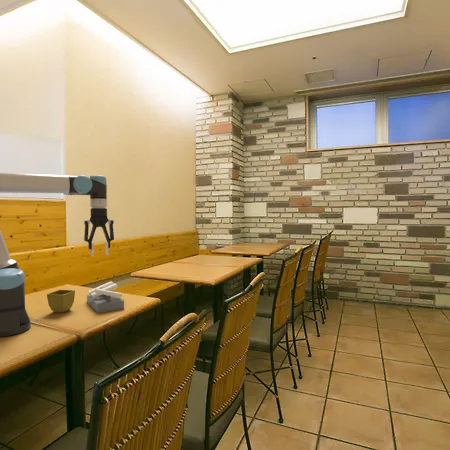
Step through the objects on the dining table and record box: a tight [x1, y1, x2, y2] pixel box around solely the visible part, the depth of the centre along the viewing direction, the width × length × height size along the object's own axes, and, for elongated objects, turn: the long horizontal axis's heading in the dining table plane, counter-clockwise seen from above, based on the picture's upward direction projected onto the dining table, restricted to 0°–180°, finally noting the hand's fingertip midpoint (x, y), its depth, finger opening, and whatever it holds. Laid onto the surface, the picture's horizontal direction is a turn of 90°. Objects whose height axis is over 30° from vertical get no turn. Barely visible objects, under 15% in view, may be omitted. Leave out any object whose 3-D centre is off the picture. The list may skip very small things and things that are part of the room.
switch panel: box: [86, 293, 125, 314], centre depth 163 cm, size 12×22×6 cm, turn 34°
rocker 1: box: [87, 281, 114, 295], centre depth 168 cm, size 12×3×2 cm, turn 124°
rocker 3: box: [94, 287, 123, 298], centre depth 158 cm, size 12×3×2 cm, turn 124°
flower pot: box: [46, 289, 76, 314], centre depth 154 cm, size 9×9×9 cm
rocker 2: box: [91, 282, 119, 298], centre depth 163 cm, size 12×3×2 cm, turn 124°
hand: (99, 255), depth 161 cm, fingers open, 6 cm apart
